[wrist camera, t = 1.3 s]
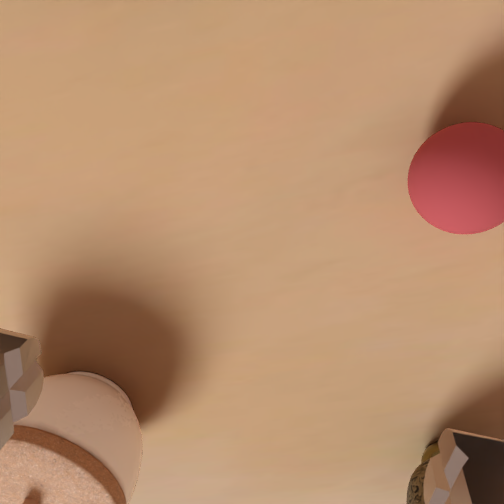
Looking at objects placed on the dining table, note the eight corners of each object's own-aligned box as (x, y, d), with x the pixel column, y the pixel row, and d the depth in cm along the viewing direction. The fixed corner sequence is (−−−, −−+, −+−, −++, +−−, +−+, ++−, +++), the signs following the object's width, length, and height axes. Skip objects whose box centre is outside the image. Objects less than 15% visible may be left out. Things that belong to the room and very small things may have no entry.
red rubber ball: (413, 106, 25) (430, 134, 20) (523, 115, 24) (567, 146, 20) (393, 202, 28) (403, 246, 23) (492, 212, 27) (523, 260, 22)
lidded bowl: (42, 320, 37) (-61, 434, 28) (186, 390, 38) (134, 524, 29) (11, 412, 44) (-82, 532, 34) (135, 471, 45) (79, 602, 35)
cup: (512, 431, 35) (554, 541, 28) (477, 492, 38) (507, 603, 32) (409, 410, 35) (425, 513, 29) (384, 472, 39) (393, 576, 32)
